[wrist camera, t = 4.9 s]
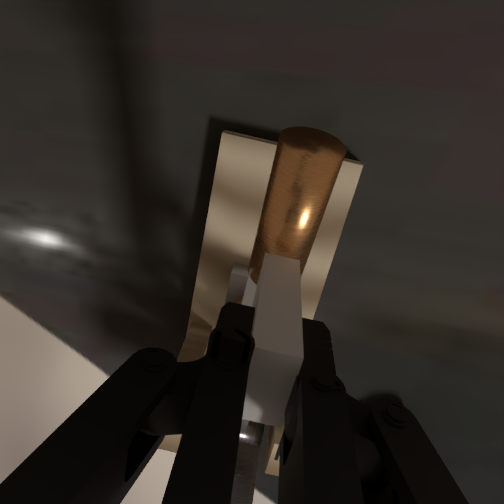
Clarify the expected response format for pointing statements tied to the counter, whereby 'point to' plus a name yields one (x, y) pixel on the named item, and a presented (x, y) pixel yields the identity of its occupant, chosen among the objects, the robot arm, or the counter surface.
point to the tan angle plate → (241, 244)
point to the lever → (286, 243)
